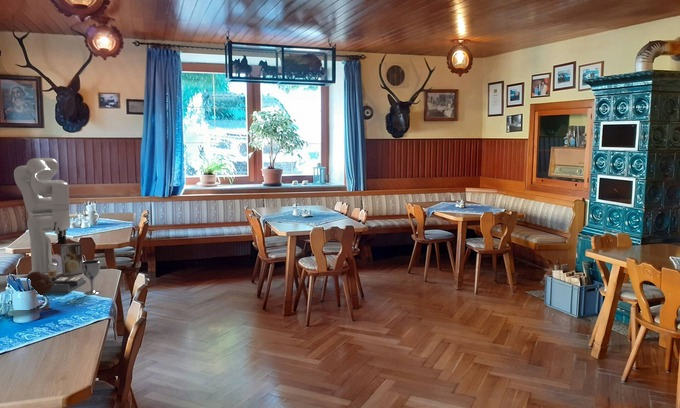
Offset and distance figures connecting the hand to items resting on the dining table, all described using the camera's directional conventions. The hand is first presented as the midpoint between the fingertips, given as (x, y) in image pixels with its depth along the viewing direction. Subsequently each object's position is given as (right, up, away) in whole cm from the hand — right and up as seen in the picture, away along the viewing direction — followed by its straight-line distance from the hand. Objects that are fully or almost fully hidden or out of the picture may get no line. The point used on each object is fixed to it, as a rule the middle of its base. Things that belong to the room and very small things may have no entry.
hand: (61, 243), depth 258 cm
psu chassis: (+2, -21, -4) cm, 22 cm away
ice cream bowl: (+6, -25, -30) cm, 39 cm away
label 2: (+6, -18, 0) cm, 19 cm away
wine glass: (+20, -23, -11) cm, 32 cm away
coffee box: (-7, -18, +24) cm, 31 cm away
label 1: (+1, -18, -1) cm, 18 cm away
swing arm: (0, -14, -8) cm, 16 cm away
